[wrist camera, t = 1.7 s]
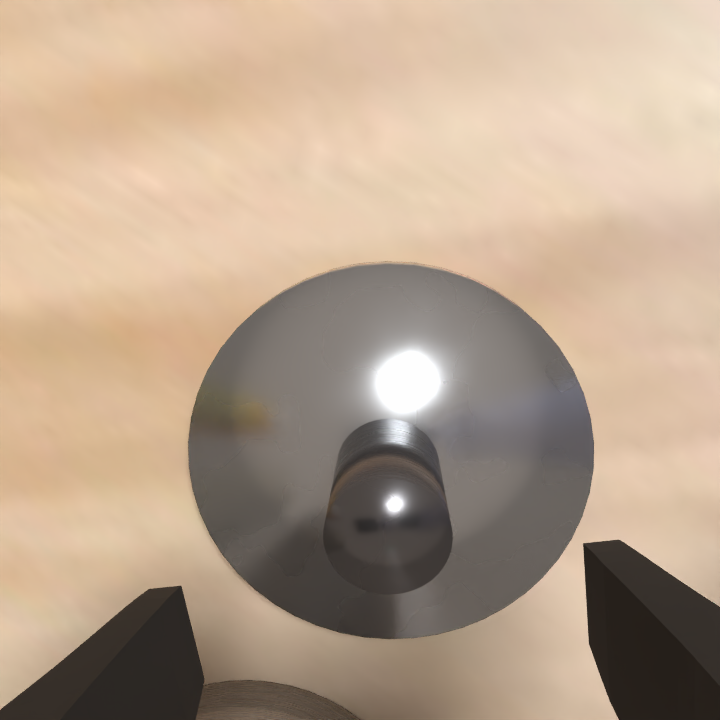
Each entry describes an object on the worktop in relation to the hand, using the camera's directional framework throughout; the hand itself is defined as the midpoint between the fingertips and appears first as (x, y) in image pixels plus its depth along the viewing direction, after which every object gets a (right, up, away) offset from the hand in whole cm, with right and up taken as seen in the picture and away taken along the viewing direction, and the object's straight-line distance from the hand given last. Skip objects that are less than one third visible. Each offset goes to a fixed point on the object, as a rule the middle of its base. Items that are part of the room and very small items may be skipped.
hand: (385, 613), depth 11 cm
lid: (0, +2, +7) cm, 7 cm away
